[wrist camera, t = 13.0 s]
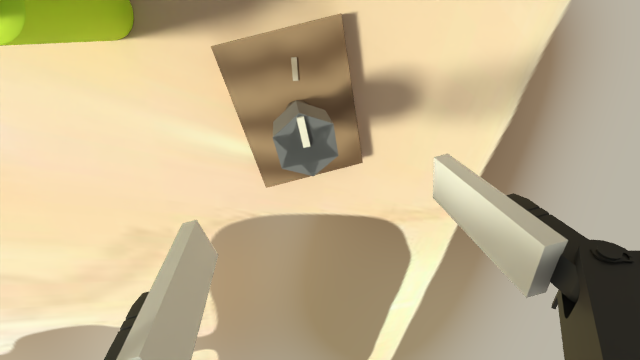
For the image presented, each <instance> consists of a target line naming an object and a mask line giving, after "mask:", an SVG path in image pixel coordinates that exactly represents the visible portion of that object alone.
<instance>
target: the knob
mask: <svg viewBox="0 0 640 360" xmlns="http://www.w3.org/2000/svg"><path fill="white" fill-rule="evenodd" d="M273 141H274V144H275V147H276V151H277V154H278V157H279V161H280V164H281V168H282V169H285V170H289V171H293V172H298V173H302V174H306V175H310V176H315V175H316V174H317V173H318V172H319V171H321V170H322V169H323V168H324V167H325V166H327V165H328V164H329V163H330V162H331V161H333V160H334V159H335V158H336V157H337V156H339V155H338V149H337V143H336V137H335V130H334V124H333V122H332V121H331V119H330V117H329V116H328V114H327V112H326V111H325V110H323V109H320V108H317V107H314V106H311V105H308V104H305V103H302V102H299V101H295V102H294V103H293V104H292V105H291V106H289V107H288V108H287V109H286V110H285V111H284V112H283V113H282V114H281V115H280V116H279V117H278V118H277V119H276V120H275V121H274V122H273Z"/></svg>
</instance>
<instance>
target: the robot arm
mask: <svg viewBox="0 0 640 360" xmlns="http://www.w3.org/2000/svg"><path fill="white" fill-rule="evenodd" d="M433 198H434V199H435V200H436V202H437V203H438V204H439V205H440V206H441V207H442V208H443V209H444V210H445V211H446V212H447V213H448V214H449V215H450V217H451V218H452V219H453V220H454V221H455V222H456V223H457V224H458V225H459V226H460V227H461V228H462V229H463V230H464V231H465V233H466V234H467V235H468V236H469V237H470V238H471V239H472V240H473V241H474V242H475V243H476V244H477V245H478V246H479V247H480V249H481V250H482V251H483V252H484V253H485V254H486V255H487V256H488V257H489V258H490V259H491V260H492V261H493V262H494V263H495V265H496V266H497V267H498V268H499V269H500V270H501V271H502V272H503V273H504V274H505V275H506V276H507V277H508V278H509V280H510V281H512V283H513V284H514V285H515V286H516V287H517V288H518V289H519V290H520V291H521V292H522V293H523V295H524V296H525V297H530V296H534V295H538V294H541V293H545V292H546V291H547V288H548V286H549V284H550V282H551V283H552V284H553V285H554V286H555V287H557V288H558V289H559V290H558V292H557V294H556V297H555V299H554V301H553V303H552V308H553V309H556V307H557V305H558V308H559V317H560V325H561V333H562V341H563V350H564V357H565V360H640V251H628V250H626V249H625V248H622V247H620V246H618V245H616V244H614V243H609V242H606V241H601V240H589V239H587V238H585V237H584V236H582V235H581V234H579V233H578V232H576V231H575V230H574V229H572V228H570V227H569V226H567V225H566V224H565V223H563V222H562V221H560V220H558V219H557V218H556V217H554V216H553V215H549V213H548V212H547V211H545V210H544V209H542V208H539V206H538V205H536V204H534V203H533V202H532V201H530V200H529V199H527V198H524V197H521V196H519V195H516V194H510V195H504V194H503V193H502V192H500V191H499V190H498V189H496V188H495V187H493V186H492V185H491V184H489V183H488V182H486V181H485V180H484V179H482V178H481V177H479V176H478V175H477V174H475V173H474V172H473V171H471V170H470V169H468V168H467V167H466V166H464V165H463V164H461V163H460V162H459V161H457V160H456V159H454V158H453V157H452V156H450V155H449V154H445V155H441V156H437V157H434V178H433ZM217 258H218V253H217V252H216V250H215V249H214V247H213V245H212V244H211V242H210V241H209V239H208V237H207V236H206V234H205V233H204V231H203V229H202V228H201V226H200V224H199V223H198V221H197V220H194V221H190V222H186V223H183V224H182V226H181V228H180V230H179V232H178V234H177V236H176V238H175V240H174V242H173V244H172V246H171V248H170V250H169V252H168V254H167V256H166V259H165V261H164V263H163V265H162V267H161V269H160V271H159V273H158V275H157V277H156V279H155V281H154V283H153V285H152V287H151V289H150V291H149V292H146V293H143V294H142V295H141V296H140V297H139V298H138V299H137V301H136V302H135V303H134V304H133V305H132V307H131V309H130V311H129V313H128V315H127V317H126V321H124V322H123V324H122V326H121V328H120V332H118V334H117V336H116V338H115V340H114V342H113V343H112V345H111V347H110V349H109V351H108V353H107V355H106V357H105V359H104V360H191V358H192V354H193V350H194V347H195V343H196V339H197V335H198V331H199V327H200V323H201V320H202V316H203V312H204V308H205V304H206V300H207V296H208V293H209V289H210V285H211V281H212V277H213V273H214V270H215V265H216V262H217Z"/></svg>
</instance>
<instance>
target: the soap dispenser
mask: <svg viewBox="0 0 640 360" xmlns="http://www.w3.org/2000/svg"><path fill="white" fill-rule="evenodd" d="M133 21H134V15H133V9H132V6H131V3H130V1H129V0H0V46H1V45H23V44H46V43H68V42H91V41H113V40H119V39H122V38H124V37H125V36H126V35H128V33H129V32H130V31H131V29H132V26H133Z"/></svg>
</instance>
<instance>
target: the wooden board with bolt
mask: <svg viewBox="0 0 640 360" xmlns="http://www.w3.org/2000/svg"><path fill="white" fill-rule="evenodd" d="M211 48H212V50H213V53H214V56H215V58H216V61H217V63H218V66H219V68H220V71H221V73H222V76H223V79H224V81H225V84H226V86H227V89H228V91H229V94H230V96H231V99H232V102H233V104H234V107H235V109H236V112H237V114H238V117H239V119H240V122H241V125H242V127H243V130H244V132H245V135H246V137H247V140H248V142H249V145H250V148H251V150H252V153H253V155H254V158H255V160H256V163H257V165H258V168H259V171H260V173H261V176H262V178H263V181H264V183H265V186H266V188H267V187H271V186H275V185H279V184H283V183H287V182H290V181H294V180H298V179H302V178H306V177H310V175H306V174H302V173H298V172H293V171H289V170H285V169H282V168H281V164H280V161H279V157H278V154H277V151H276V147H275V144H274V141H273V122H274V121H275V120H276V119H277V118H278V117H279V116H280V115H281V114H282V113H283V112H284V111H285V110H286V109H287V108H288V107H289V106H291V105H292V104H293V103H294V102H295V101H299V102H302V103H305V104H308V105H311V106H314V107H317V108H320V109H323V110H325V111H326V112H327V114H328V116H329V117H330V119H331V121H332V122H333V124H334V130H335V137H336V143H337V149H338V155H339V156H337V157H336V158H335V159H334V160H333V161H331V162H330V163H329V164H328V165H327V166H325V167H324V168H323V169H322V170H321V171H319V172H318V173H317V174H321V173H325V172H329V171H333V170H336V169H340V168H344V167H348V166H352V165H355V164H359V163H363V162H362V155H361V148H360V141H359V134H358V127H357V120H356V113H355V106H354V99H353V92H352V85H351V78H350V71H349V64H348V57H347V50H346V43H345V36H344V29H343V22H342V15H341V14H337V15H333V16H329V17H325V18H321V19H318V20H314V21H310V22H306V23H302V24H298V25H294V26H290V27H286V28H282V29H278V30H274V31H270V32H266V33H262V34H258V35H254V36H250V37H246V38H242V39H238V40H234V41H230V42H226V43H223V44H219V45H215V46H211ZM317 174H316V175H317Z"/></svg>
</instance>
